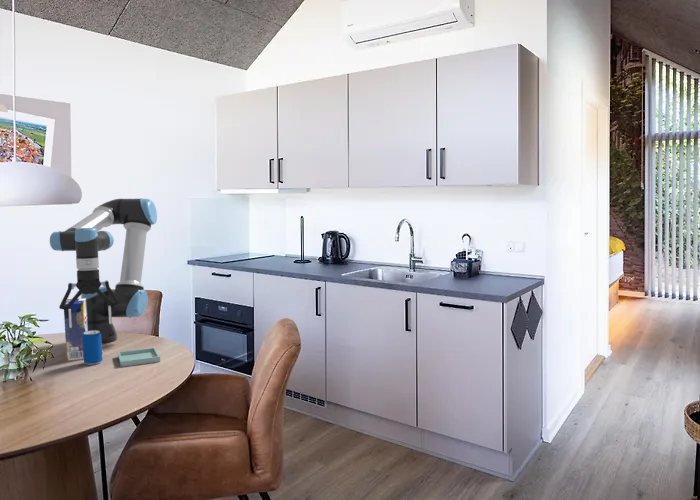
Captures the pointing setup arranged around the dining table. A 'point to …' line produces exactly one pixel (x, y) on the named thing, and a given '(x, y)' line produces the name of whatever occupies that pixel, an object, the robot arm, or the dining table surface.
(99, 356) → the beverage can
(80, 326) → the beverage box
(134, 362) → the tray
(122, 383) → the dining table surface
